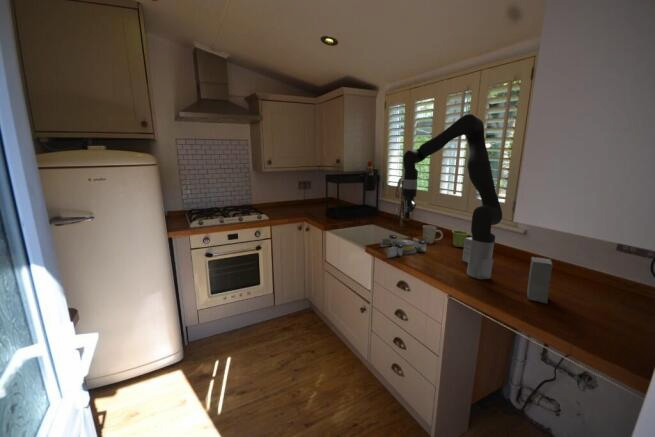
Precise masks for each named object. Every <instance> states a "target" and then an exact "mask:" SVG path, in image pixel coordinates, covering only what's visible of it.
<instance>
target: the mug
mask: <svg viewBox="0 0 655 437" xmlns="http://www.w3.org/2000/svg"><path fill="white" fill-rule="evenodd" d="M436 233H439V234H440V237H439V238H435V237H436ZM443 237H444V234H443V231H442V230H440V229H438V227H437V226H434V225H429V224H427V225H422V240H425V241H427V244H434V242H435V241H440V240H442V239H443Z"/></svg>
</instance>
